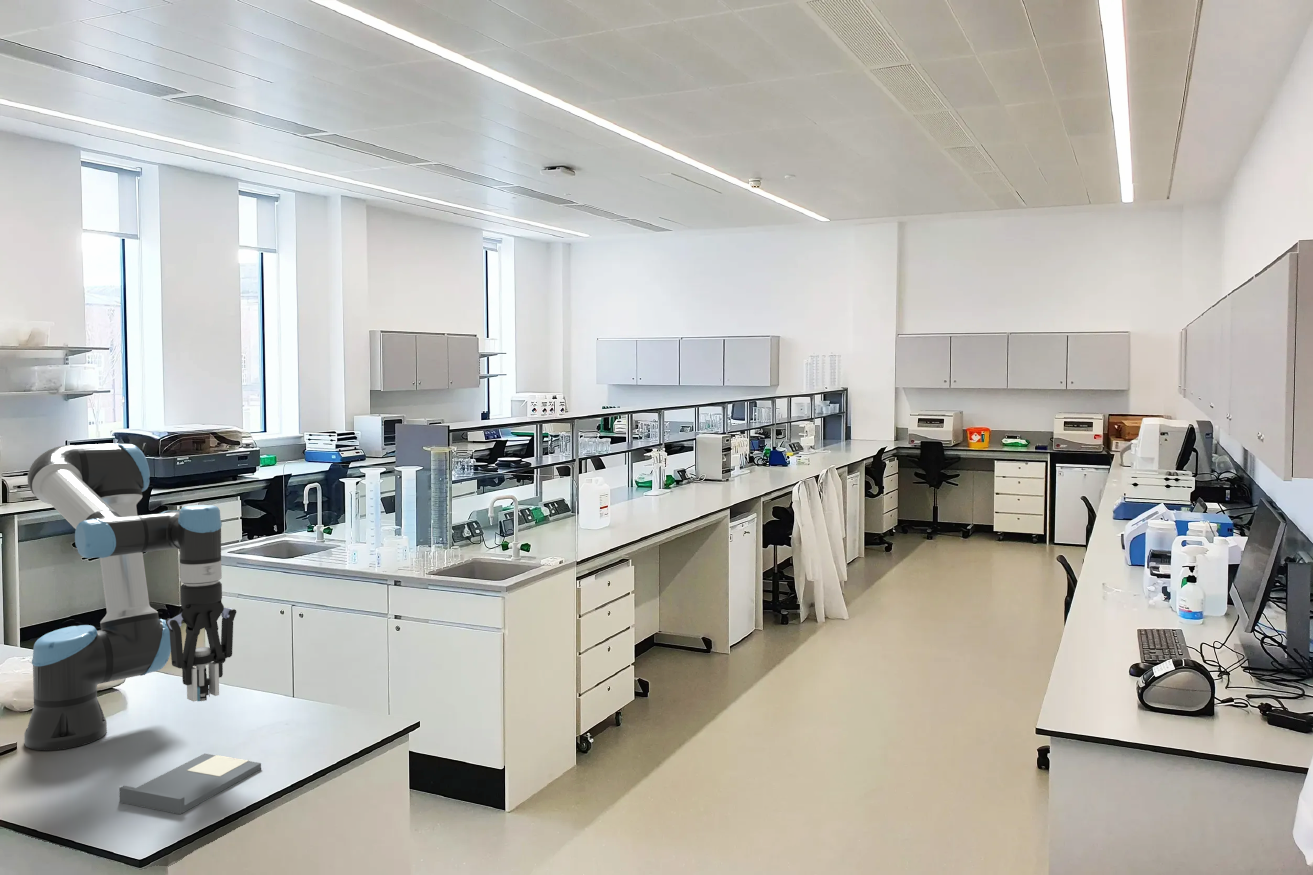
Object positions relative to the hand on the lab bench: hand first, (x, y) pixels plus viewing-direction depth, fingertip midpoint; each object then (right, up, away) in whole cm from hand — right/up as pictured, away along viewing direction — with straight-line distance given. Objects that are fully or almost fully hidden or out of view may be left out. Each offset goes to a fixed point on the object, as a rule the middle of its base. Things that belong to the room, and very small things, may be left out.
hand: (203, 696), depth 188 cm
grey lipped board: (+2, -15, -8) cm, 17 cm away
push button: (0, -1, 0) cm, 1 cm away
